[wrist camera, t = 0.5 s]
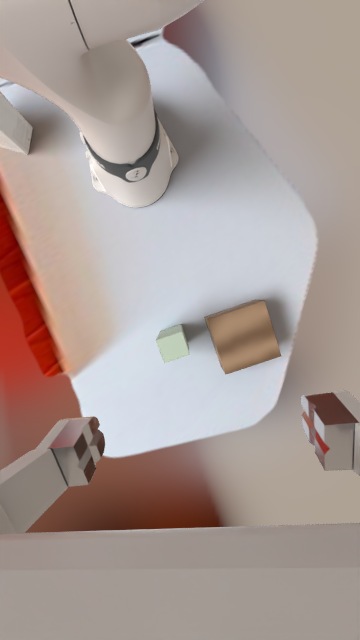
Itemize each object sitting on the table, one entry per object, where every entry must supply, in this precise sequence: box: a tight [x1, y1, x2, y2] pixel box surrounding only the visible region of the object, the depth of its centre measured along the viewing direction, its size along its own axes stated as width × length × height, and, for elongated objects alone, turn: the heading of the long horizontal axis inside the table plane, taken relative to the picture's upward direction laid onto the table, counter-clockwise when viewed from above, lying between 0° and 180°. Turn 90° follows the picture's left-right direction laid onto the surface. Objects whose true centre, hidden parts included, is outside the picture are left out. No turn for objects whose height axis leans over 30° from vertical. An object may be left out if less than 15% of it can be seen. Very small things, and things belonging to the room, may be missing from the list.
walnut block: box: [205, 300, 281, 374], centre depth 51 cm, size 12×12×6 cm
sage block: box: [156, 324, 190, 363], centre depth 49 cm, size 4×5×11 cm
